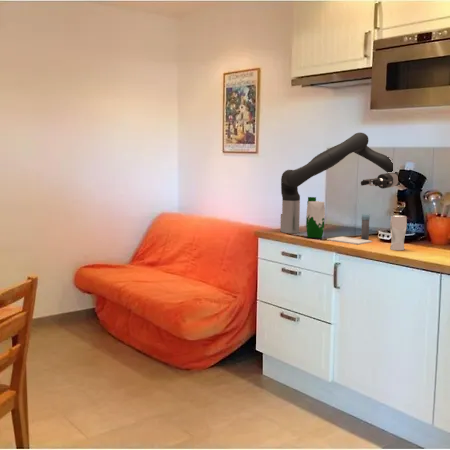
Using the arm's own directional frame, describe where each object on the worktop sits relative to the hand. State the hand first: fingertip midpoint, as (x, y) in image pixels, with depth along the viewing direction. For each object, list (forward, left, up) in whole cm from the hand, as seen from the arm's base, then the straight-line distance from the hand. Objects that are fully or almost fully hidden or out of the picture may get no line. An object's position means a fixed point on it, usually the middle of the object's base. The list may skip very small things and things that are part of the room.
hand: (368, 183), depth 288 cm
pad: (+1, -16, -27) cm, 32 cm away
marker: (+3, -6, -27) cm, 28 cm away
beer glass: (+29, -19, -27) cm, 44 cm away
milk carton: (-17, -20, -27) cm, 38 cm away
